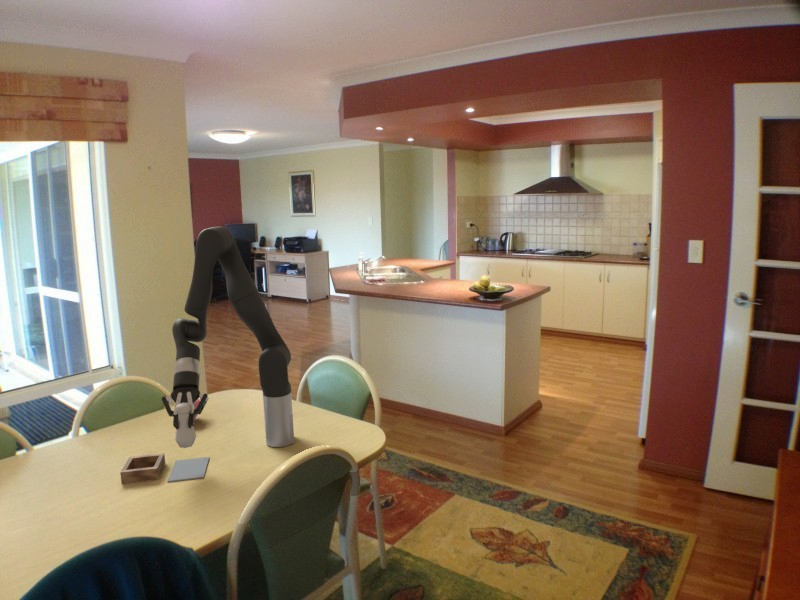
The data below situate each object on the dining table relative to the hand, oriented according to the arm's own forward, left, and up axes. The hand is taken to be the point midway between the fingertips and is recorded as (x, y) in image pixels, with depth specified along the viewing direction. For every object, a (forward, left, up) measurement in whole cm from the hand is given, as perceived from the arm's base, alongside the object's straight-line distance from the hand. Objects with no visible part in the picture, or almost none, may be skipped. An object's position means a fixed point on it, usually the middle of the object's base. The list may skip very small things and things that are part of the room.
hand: (183, 427), depth 161 cm
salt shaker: (0, -2, -7) cm, 7 cm away
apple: (+6, -42, -15) cm, 45 cm away
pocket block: (+13, -3, -14) cm, 20 cm away
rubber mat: (0, -2, -14) cm, 15 cm away
